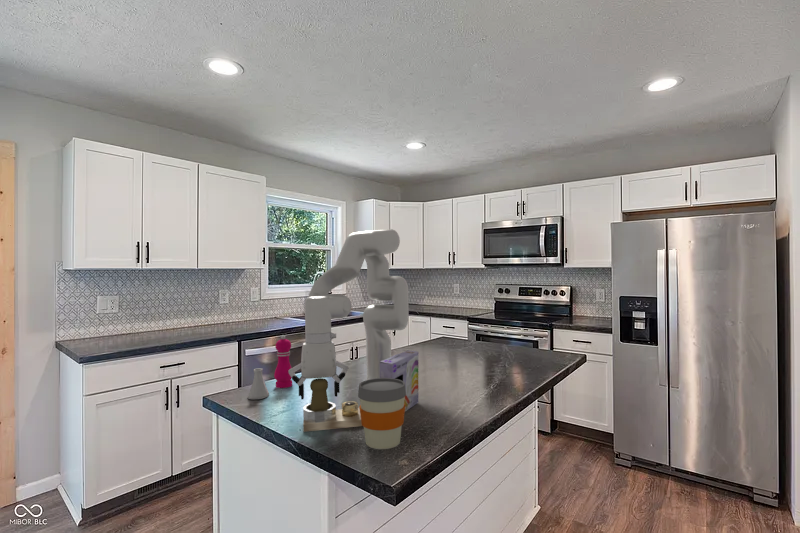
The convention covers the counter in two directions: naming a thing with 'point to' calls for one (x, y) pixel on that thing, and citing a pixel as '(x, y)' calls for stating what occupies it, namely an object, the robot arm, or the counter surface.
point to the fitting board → (334, 422)
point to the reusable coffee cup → (382, 411)
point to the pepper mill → (283, 363)
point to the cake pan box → (403, 374)
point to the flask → (258, 386)
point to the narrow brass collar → (349, 409)
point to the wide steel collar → (319, 414)
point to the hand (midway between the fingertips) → (319, 396)
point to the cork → (319, 395)
